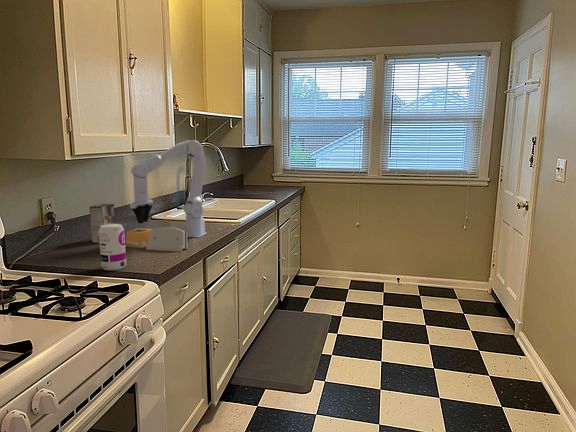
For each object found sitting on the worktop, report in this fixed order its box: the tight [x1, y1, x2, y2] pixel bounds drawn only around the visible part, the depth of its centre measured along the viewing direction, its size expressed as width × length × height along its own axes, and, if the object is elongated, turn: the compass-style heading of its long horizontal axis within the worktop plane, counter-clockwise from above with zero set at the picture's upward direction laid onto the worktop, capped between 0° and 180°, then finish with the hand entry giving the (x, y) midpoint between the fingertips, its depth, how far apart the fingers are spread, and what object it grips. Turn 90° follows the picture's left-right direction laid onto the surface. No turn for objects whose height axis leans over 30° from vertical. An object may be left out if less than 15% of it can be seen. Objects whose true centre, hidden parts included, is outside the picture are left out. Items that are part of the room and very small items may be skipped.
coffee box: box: [89, 203, 116, 244], centre depth 196 cm, size 9×6×16 cm
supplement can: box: [99, 223, 127, 271], centre depth 153 cm, size 8×8×15 cm
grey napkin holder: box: [145, 226, 188, 253], centre depth 181 cm, size 17×5×10 cm, turn 76°
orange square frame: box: [126, 228, 154, 242], centre depth 191 cm, size 8×8×4 cm
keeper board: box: [125, 228, 149, 249], centre depth 190 cm, size 14×10×6 cm
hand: (142, 222), depth 192 cm, fingers open, 3 cm apart
